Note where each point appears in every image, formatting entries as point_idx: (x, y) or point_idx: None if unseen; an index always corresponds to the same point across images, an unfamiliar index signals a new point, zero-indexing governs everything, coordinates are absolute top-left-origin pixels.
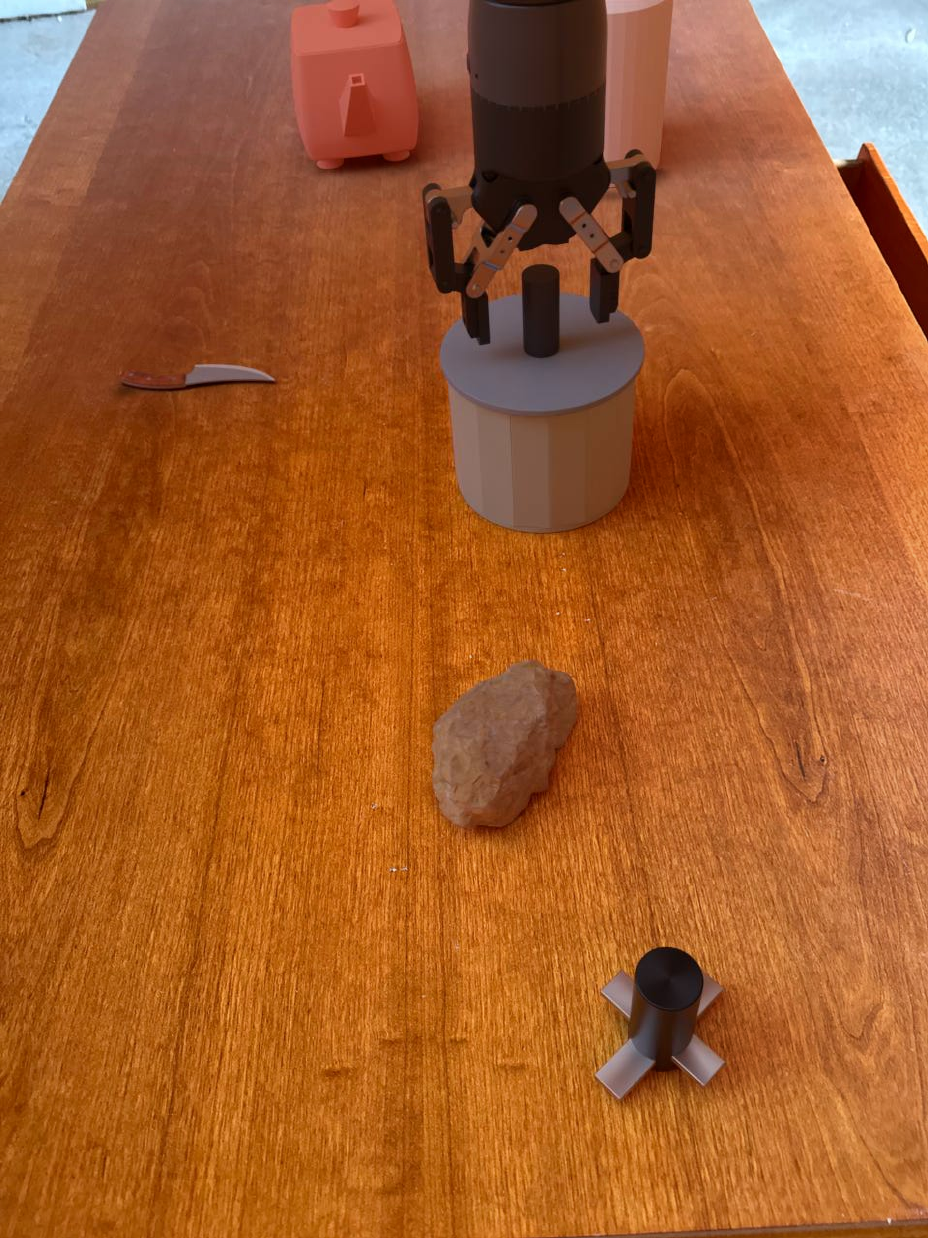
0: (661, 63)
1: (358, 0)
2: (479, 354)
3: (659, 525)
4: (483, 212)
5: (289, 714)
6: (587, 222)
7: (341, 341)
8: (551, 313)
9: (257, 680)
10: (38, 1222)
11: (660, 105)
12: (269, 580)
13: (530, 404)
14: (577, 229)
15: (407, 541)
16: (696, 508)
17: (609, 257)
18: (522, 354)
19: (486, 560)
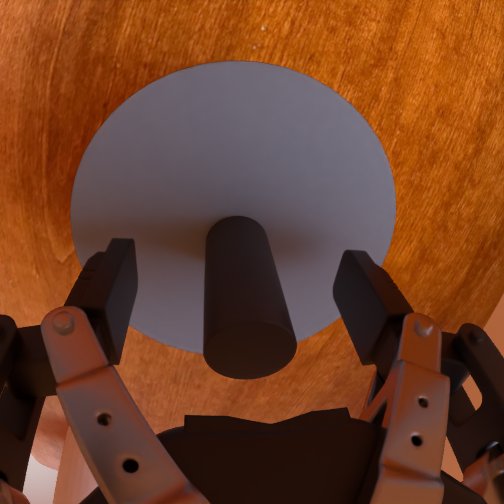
0: (60, 476)
1: None
2: (332, 258)
3: (144, 54)
4: (477, 496)
5: (489, 29)
6: (115, 473)
7: (315, 362)
8: (233, 265)
9: (497, 66)
10: None
11: (63, 455)
12: (470, 145)
13: (322, 101)
14: (159, 457)
15: (380, 130)
16: (100, 69)
17: (69, 340)
18: (273, 236)
19: (328, 72)
